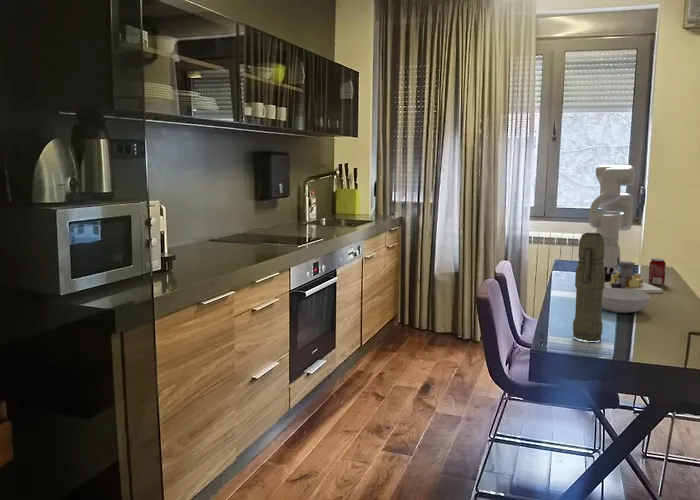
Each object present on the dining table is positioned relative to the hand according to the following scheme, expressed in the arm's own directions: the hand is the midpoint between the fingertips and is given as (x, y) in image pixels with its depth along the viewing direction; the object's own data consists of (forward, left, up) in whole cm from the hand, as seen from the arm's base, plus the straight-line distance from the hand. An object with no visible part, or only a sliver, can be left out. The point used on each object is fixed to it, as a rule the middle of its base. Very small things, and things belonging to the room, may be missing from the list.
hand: (606, 281), depth 267 cm
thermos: (+74, -39, -4) cm, 84 cm away
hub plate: (-6, +11, -4) cm, 13 cm away
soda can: (-13, +29, -4) cm, 32 cm away
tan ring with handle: (-1, +8, -2) cm, 8 cm away
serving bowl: (+36, -11, -4) cm, 38 cm away
